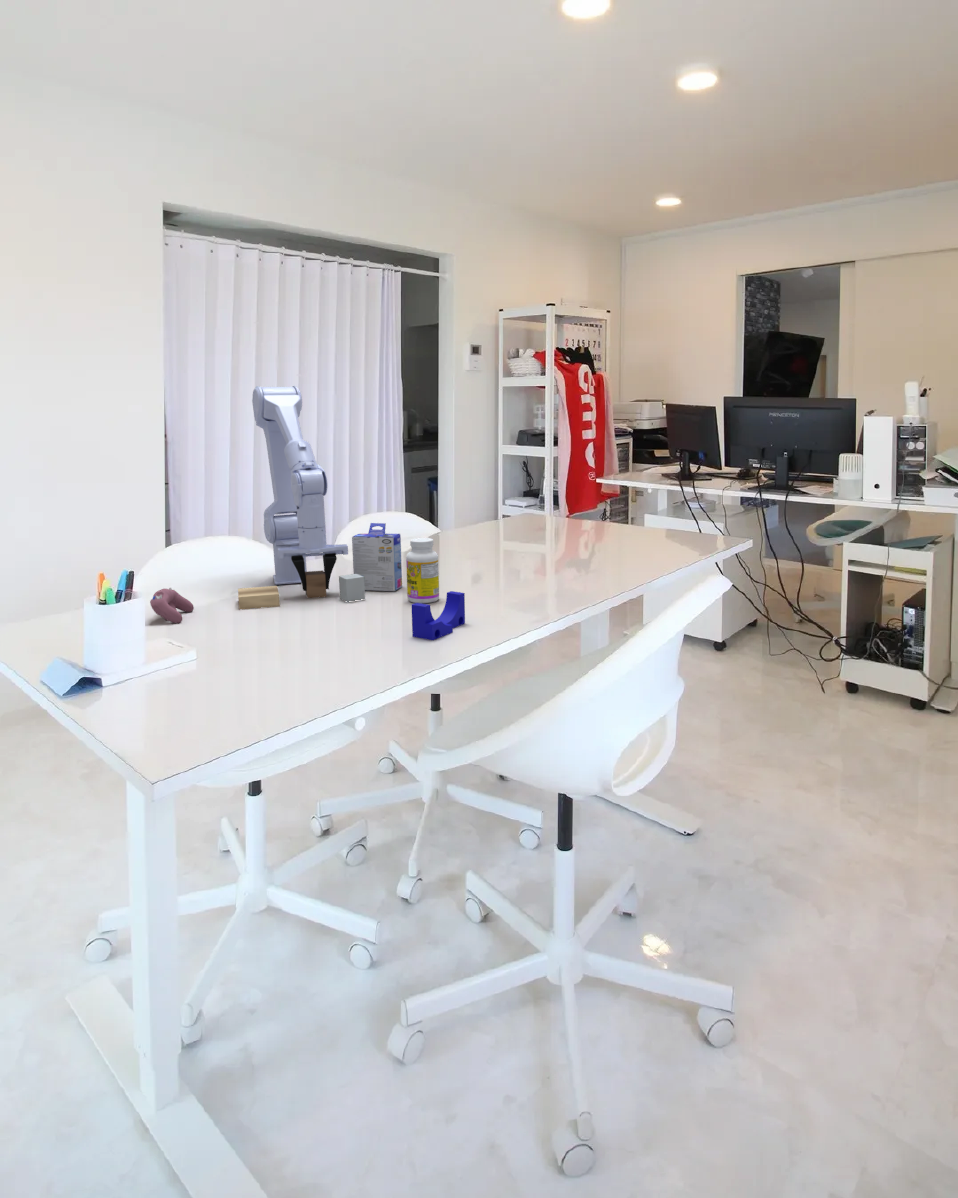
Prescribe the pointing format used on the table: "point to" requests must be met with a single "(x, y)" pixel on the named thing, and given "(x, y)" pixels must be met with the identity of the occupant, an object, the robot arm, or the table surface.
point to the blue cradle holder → (444, 623)
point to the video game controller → (170, 605)
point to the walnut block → (315, 584)
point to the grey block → (351, 587)
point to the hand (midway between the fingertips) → (315, 589)
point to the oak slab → (258, 597)
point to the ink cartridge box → (378, 559)
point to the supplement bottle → (422, 572)
